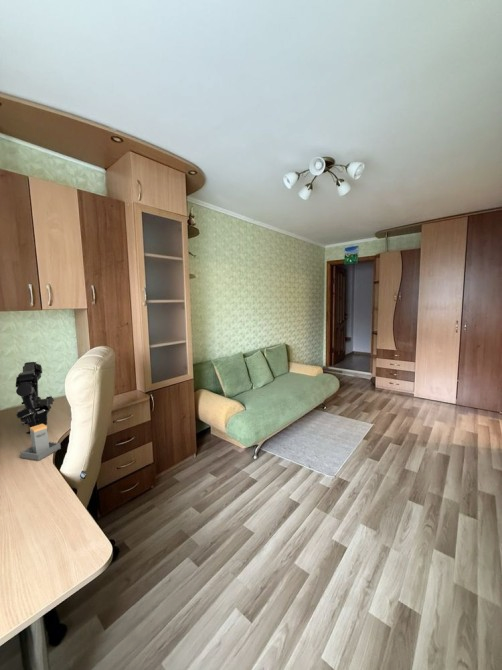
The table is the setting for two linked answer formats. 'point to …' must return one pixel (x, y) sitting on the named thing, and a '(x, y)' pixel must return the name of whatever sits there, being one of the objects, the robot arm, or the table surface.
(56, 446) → the tray
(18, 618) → the table surface
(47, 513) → the table surface
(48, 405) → the robot arm
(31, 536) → the table surface
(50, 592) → the table surface
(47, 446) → the gray orange box
